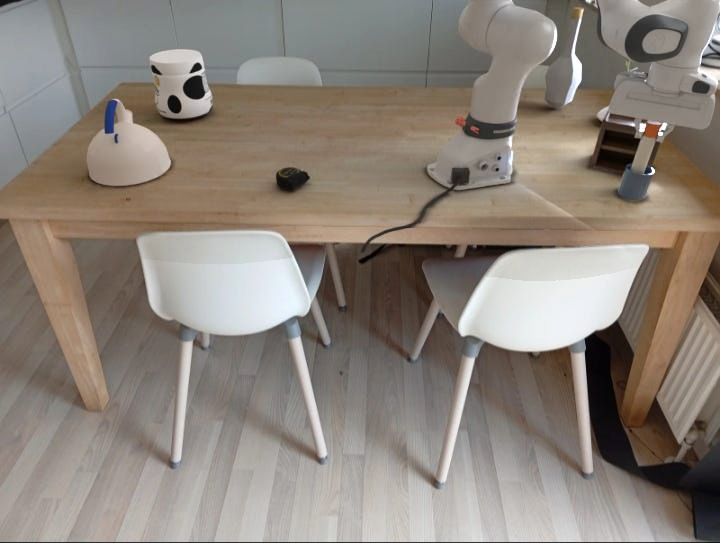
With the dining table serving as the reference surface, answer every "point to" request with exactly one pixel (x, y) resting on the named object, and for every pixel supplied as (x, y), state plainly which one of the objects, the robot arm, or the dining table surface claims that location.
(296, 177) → the tape measure
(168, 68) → the milk container
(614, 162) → the small wooden shelf
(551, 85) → the bottle
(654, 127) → the marker
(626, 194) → the pen cup
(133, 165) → the kettle
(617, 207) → the dining table surface
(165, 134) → the dining table surface
